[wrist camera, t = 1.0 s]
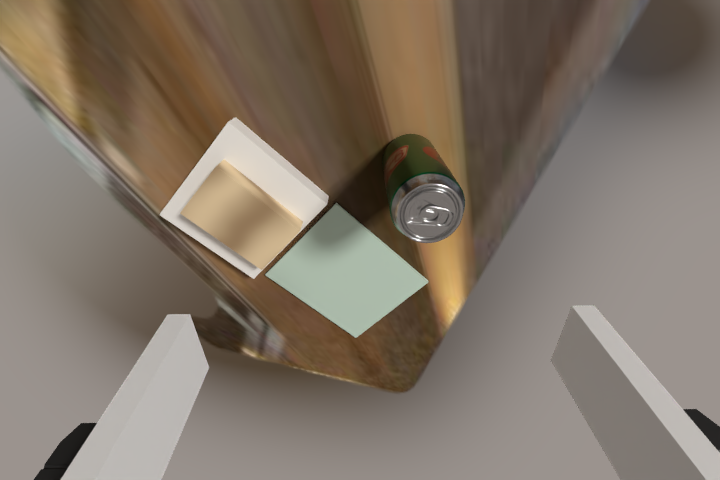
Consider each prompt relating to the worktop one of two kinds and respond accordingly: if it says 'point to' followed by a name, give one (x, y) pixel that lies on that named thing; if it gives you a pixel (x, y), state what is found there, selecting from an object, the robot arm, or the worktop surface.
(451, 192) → the soda can
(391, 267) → the mat
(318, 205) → the white flat square block
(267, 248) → the tan flat block
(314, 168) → the worktop surface
